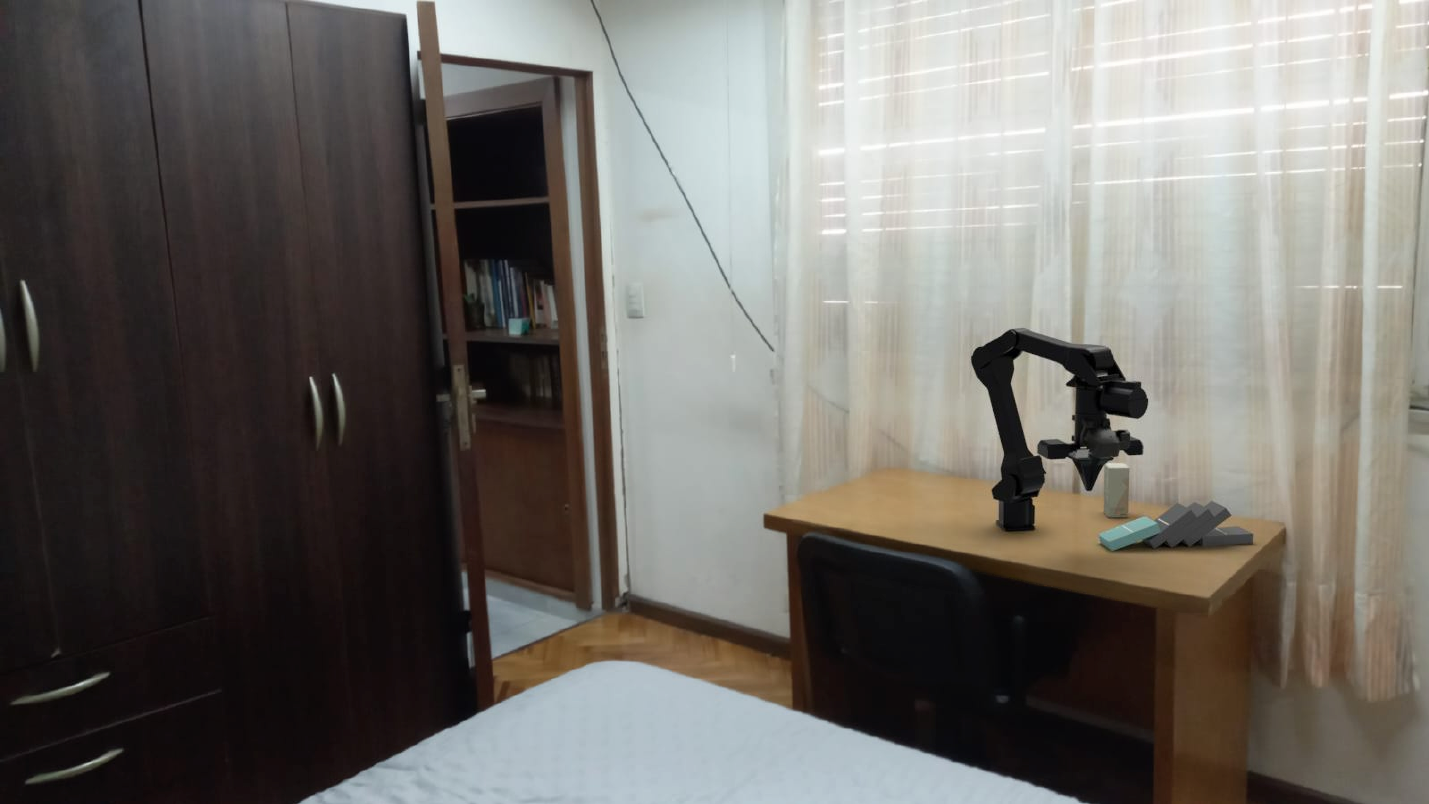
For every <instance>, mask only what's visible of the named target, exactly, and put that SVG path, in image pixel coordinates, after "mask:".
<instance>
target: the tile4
mask: <svg viewBox="0 0 1429 804" xmlns="http://www.w3.org/2000/svg"><path fill="white" fill-rule="evenodd" d="M1203 506H1204V507H1206V508H1208V509H1209V510H1210V512H1211V513H1212V514H1213V516H1214V517H1213V518H1211V519H1210V520H1209V521H1207V522H1206V523H1205V524H1203V525H1202V526H1201V527H1199V528H1198V529H1197V530H1195V531H1194V532H1193V533H1191V534H1190V535H1189V536H1187V537H1186V538H1185V539H1183V540H1182V541H1181V542H1180V543H1182V544H1184V545H1186V546H1187V547H1188V548H1190V547H1191V546H1193V545H1194V544H1196V542H1197V541H1198V540H1199V539H1201V538H1202V537H1204V536H1205V535H1206V534H1208V533H1209V532H1210V531H1212V530H1213V529H1214V528H1218V527H1219V526H1220V525H1221V524H1222V523H1224V522H1225V521H1226V520H1228V519H1229V518H1230V517H1232V514H1231V512H1230V511H1229V510H1228V508H1227V507H1225V506H1224V505H1221V504H1219V503H1217V502H1215V501H1212V500H1211V501H1210V502H1208V503H1207V504H1206V505H1203Z"/></svg>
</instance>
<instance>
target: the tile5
mask: <svg viewBox="0 0 1429 804" xmlns="http://www.w3.org/2000/svg"><path fill="white" fill-rule="evenodd" d="M1195 544H1198V545H1199V546H1201V547H1219V546H1236V545H1250V544H1251V545H1252V544H1254V533H1253V532H1251V531H1249V530H1247V529H1245V528H1243V527H1241V526H1239V525H1238V526H1217V527H1216V528H1214V529H1213V530H1212V531H1210V532H1209V533H1208V534H1206V535H1205V536H1204V537H1202V538H1201V539H1199V540H1198V541H1197V542H1195Z"/></svg>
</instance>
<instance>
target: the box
mask: <svg viewBox="0 0 1429 804" xmlns="http://www.w3.org/2000/svg"><path fill="white" fill-rule="evenodd" d="M1103 467H1104V470H1103V471H1104V473H1103V474H1104V475H1103V513H1104V514H1105V515H1106V517H1107V518H1129V500H1130V499H1129V497H1130V467H1129V466H1128V465H1127V464H1126V463H1125V462H1123V463H1122V462H1121V463H1120V462H1107V463H1106V464H1105V465H1104V466H1103Z"/></svg>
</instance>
